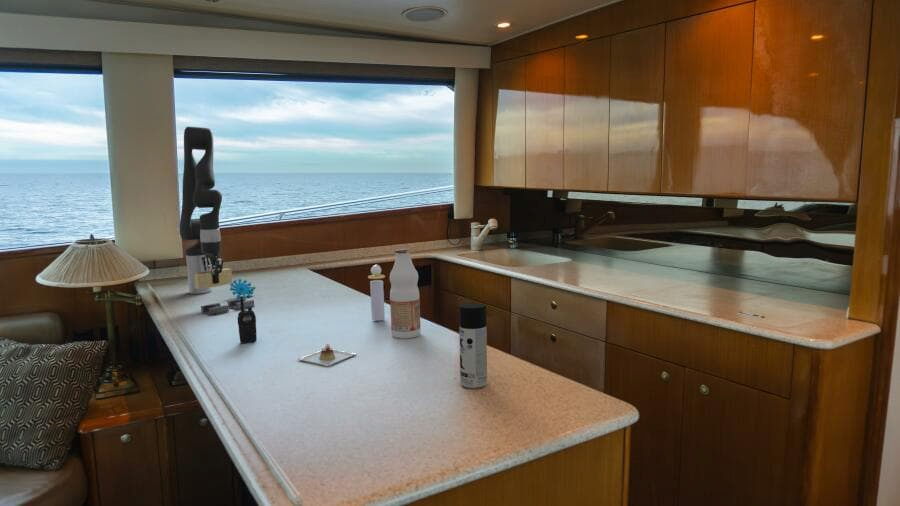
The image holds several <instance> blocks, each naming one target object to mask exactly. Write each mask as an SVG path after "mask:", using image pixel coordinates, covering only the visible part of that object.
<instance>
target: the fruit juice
mask: <svg viewBox="0 0 900 506" xmlns="http://www.w3.org/2000/svg"><path fill="white" fill-rule="evenodd" d="M394 253H395V256H396V257H395V259H394V264H393V267H392V269H391V271H390V273H389V282H390V290H389V302H390V306H389V307H390V329H391V331H390V332H391V335H392V337H393V338H395V339H405V340H406V339H414V338H416V337H419V336H420V335H421V330H422V329H421V307H420V306H421V305H420V291H419V290H420V289H419V287H418V282H419V273H418V271H417V269H416V268H415V266H414V264H413V260H412V257H411V253H412V249H411V248H404V247H403V248H402V247H401V248H400V247H399V248H396V249H395V250H394Z"/></svg>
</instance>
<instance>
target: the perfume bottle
mask: <svg viewBox="0 0 900 506" xmlns="http://www.w3.org/2000/svg"><path fill="white" fill-rule="evenodd" d="M370 273H371V274H370V275H368V276H367V278H368V280H369V279H370V281H369V285H370V286H369V287H370V289H369V290H370V304H371V305H370V306H371V320H373V321H382V320H385V319H386V318H385V317H386V316H385V297H384V296H385V292H386V285H385V284H384V281H383V280H382V279H384V278H386V275H385V274H381V273H382V268H381V266H380V265H379V264H375V265H372V267H371V268H370Z"/></svg>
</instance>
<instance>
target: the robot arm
mask: <svg viewBox="0 0 900 506" xmlns="http://www.w3.org/2000/svg"><path fill="white" fill-rule="evenodd" d="M193 150H196V151H198V150H199V151H204V154H203V155H202V157H201V159H200V160H199V161H198V163H197V161H196V159H195V157H194V154H193ZM215 185H216V181H215V174H214V134H213V131H212V129H211V128H208V127H199V126H186V127H185V129H184V131H183V175H182V198H181V199H182V203H181V204H182V205H181V211H180V220H179V221H180V222H179V234H180V238H181V239H182V240H183V241H193V240H197V241H196V242H195V243H194V244H193V245H191V246H188V247H187V248H186V249H185V259H186V270H187V282H188V292H189V294H191V295H192V294H193V295H199V294H200V295H201V294H205V293H206V294H207V293H210V292H211V291H212V287H209V288H204V289H196V288H195V279H194V273H199V272H205V271H212V273H213V283H214V284H217V283H219V273H222V269H223V266H224V259H221V258H220V255H219V253H220V252H222V249H223V248H222V236H221V231H220V229H221V228H220V219H219V218H220V210H221V205H222V202H223V195H222V193H221V191H220V190H219V189H213V188H214V187H215ZM196 208H199V209H205V208H206V209H207V208H211V209H212V210H211V211H209V212H207V213H203V214H200V216H199V218H192V216H193V213H194V211H195V209H196Z"/></svg>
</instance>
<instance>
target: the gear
mask: <svg viewBox="0 0 900 506" xmlns="http://www.w3.org/2000/svg"><path fill="white" fill-rule="evenodd" d="M237 282H238V283H237ZM247 282H248V280H246V279H244V280H243V281H242V279H241V278H238V280H236V279H234V280H232V284H229V286H230V288H229V291H231V292H232V293H231V294H232V295H233V296H235V295H236V298H237V299H240V297H241V296H243V298H246V299H247V298H251V296H252V295H253V294H254V291H255V290H256V288H257V286H256V285H254V286H252V283H251V282H248V283H247ZM246 295H247V296H246Z"/></svg>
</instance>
